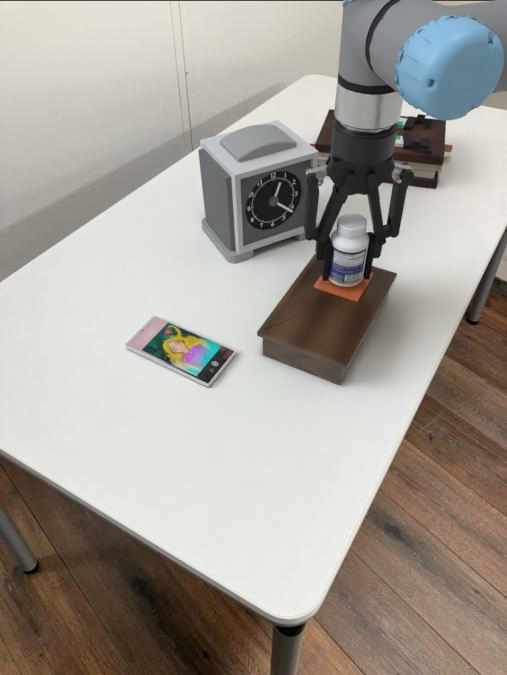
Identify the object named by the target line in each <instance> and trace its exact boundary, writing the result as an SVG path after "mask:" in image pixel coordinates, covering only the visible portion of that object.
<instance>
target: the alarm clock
mask: <svg viewBox="0 0 507 675" xmlns="http://www.w3.org/2000/svg"><path fill="white" fill-rule="evenodd" d="M199 144H200V148H199V149H198V151H197V152H198V160H199V162H198V163H199V169H200V170H199V171H200V179H201V189H202V190H201V191H202V197H203V198H202V199H203V206H204V217H203V218H202V220H201V228H202V231H203V232H204V233H205V235H206V236H207V237H208V239H209V240H210V241H211V242H212V243H213V245H214V246H215V247H216V249H217V250H218V251H219V252H220V254H221V255H222V257H223V258H224V259H225V260H226V261H227V263H231V264H238V263H240V262H243V261H247V260H249V259H252V258H254V250H257V249H260V248H263V247H266V246H269V245H272V244H275V243H277V242H281V241H283V240H287V239H289V238H292V237H294V238H295V239H296V240H297V241H298V242H301V241H305V240H306V238H305V232H304V221H305V211H306V201H307V191H308V184H307V180H306V174H305V168H306V167H307V166H313V167H314V168H316V167H318V154H319V151H317V150H316V149H315V148H314V147H312V146H311V145H310V144H311V143H308V142H307V141H306V140H305V139H304V138H302V137H301V136H299V134H297V133H296V132H294V131H293V130H292V129H291V128H289V127H288V126H287V125H285V124H284V123H283V122H281V121H280V120H279V119H276V120H272V121H269V122H265V123H261V124H254V125H253V124H252V125H249V126H245V127H242V128H239V129H236V130H233V131H230V132H225V133H222V134H217V135H214V136H210V137H209V136H208V137H205V138H202V139H199ZM318 225H319V223H318V222H316V227H318Z"/></svg>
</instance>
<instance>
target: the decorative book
mask: <svg viewBox="0 0 507 675" xmlns="http://www.w3.org/2000/svg"><path fill="white" fill-rule="evenodd" d="M334 110H335V109H331V108H330V109H328V111H327V114H326V115H325V118H324V121H323V122H322V125H321V128H320V131H319V133H318V136H317V138H316V139H315V143H309V144H310V145H311V146H312V147H314V148H315V149H316V150H317V151H319V154H318V167H319V166H322V165H325V163H326V161H327V159H328V158H329V156H330V152H331V142H332V131H333V122H334V120H335V119H336V118H335V116H334ZM427 116H429V115H428V114H426V113H425V114H421V113H418V114H417V116H412V115H408V116H407V115H401V116H400V119H399V121H398V122H397V123H398V131H397V137H396V142H395V148H394V153H393V160H394V162H395V163H398V164H402V163H404V162H408V163H409V164H410V166H411V168H412V171H413V173H414V178H413V179H412V181H411V183H410V185H409V186H408V187H415V188H416V187H418V188H425V189H433V190H436V189H437V186H438V182H439V172H442V166H443V164H444V160H445V152H446V153H452V150H453V144H446V129H447V120H439V119H435V118H429V117H428V118H427ZM392 174H393V173H391V174H390V175H389V176H388V178H387V179H386V180H385V181H384V182H383V183H382V184H392V185H393V181H394V180H393V177H392ZM326 177H329V176H328V175H327V176H326Z"/></svg>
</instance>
